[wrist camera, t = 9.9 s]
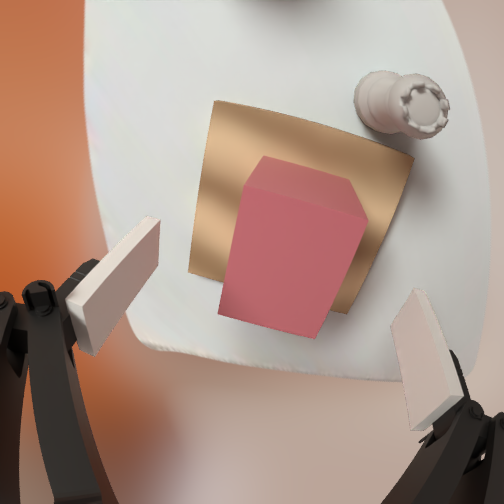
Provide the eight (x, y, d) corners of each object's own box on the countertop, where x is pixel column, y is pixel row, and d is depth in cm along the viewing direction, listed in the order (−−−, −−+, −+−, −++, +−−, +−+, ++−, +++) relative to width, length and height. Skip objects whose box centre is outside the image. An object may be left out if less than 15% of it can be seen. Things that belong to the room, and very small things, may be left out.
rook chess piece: (424, 103, 17) (481, 113, 10) (386, 145, 19) (427, 174, 12) (378, 58, 16) (419, 41, 9) (339, 101, 18) (360, 105, 11)
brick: (263, 155, 20) (244, 185, 14) (349, 179, 19) (368, 220, 13) (240, 255, 24) (217, 313, 18) (314, 275, 24) (315, 339, 18)
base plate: (218, 100, 19) (214, 100, 18) (409, 154, 19) (414, 158, 18) (192, 264, 26) (188, 272, 25) (345, 305, 26) (346, 314, 25)
